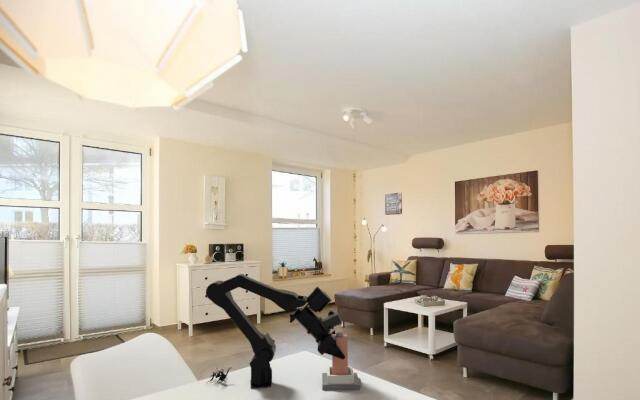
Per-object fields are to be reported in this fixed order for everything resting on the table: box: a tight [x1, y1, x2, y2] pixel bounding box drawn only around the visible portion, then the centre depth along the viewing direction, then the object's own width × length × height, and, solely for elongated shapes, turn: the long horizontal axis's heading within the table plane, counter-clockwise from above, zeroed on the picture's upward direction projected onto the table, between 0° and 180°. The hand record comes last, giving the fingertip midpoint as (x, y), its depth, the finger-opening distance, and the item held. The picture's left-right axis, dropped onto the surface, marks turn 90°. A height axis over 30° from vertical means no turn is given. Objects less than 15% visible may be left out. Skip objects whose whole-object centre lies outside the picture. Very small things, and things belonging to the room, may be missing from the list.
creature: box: [206, 367, 232, 385], centre depth 130 cm, size 8×5×8 cm
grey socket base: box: [321, 365, 361, 391], centre depth 127 cm, size 12×10×4 cm
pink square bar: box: [331, 331, 349, 375], centre depth 128 cm, size 5×5×14 cm
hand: (343, 355), depth 128 cm, fingers closed on pink square bar, 5 cm apart
